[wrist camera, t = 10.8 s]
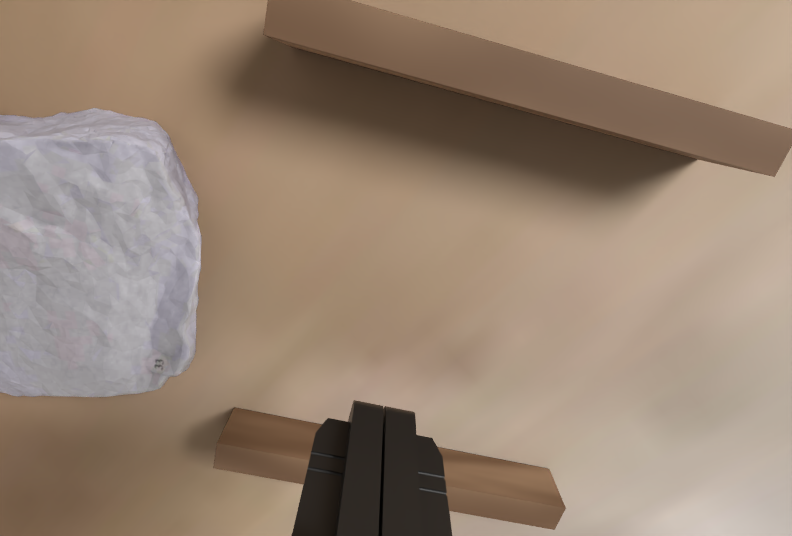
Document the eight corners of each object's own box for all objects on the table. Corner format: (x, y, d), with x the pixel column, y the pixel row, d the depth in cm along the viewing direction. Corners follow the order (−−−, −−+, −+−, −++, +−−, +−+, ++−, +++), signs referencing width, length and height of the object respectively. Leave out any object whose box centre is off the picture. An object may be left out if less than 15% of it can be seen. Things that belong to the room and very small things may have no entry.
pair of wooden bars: (297, 2, 17) (270, -24, 13) (716, 122, 18) (799, 131, 15) (230, 430, 24) (200, 494, 20) (539, 489, 25) (565, 558, 22)
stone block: (197, 104, 20) (-76, 106, 18) (172, 114, 15) (-192, 118, 14) (234, 340, 24) (21, 361, 23) (222, 397, 20) (-42, 431, 18)
